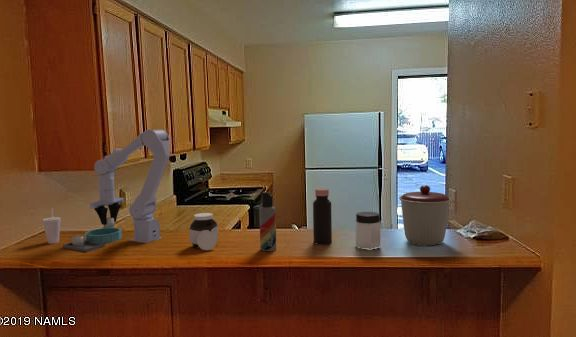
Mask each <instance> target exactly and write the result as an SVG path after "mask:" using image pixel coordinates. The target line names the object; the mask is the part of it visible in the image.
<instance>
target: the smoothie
mask: <svg viewBox="0 0 576 337" xmlns="http://www.w3.org/2000/svg"><path fill="white" fill-rule="evenodd" d="M50 211H51V217H46V218H43V219H42V223H43V228H44V231H45V236H46V241H47V244H57V243H59V242H60V228H61V221H62V218H61V217H60V216H59V217H58V216H54V207H51V209H50Z"/></svg>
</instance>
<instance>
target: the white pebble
mask: <svg viewBox="0 0 576 337" xmlns="http://www.w3.org/2000/svg"><path fill="white" fill-rule="evenodd" d="M84 241H85V235H75V236H72V237H71V243H72V246H75V247H83V246H84Z"/></svg>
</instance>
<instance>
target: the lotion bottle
mask: <svg viewBox="0 0 576 337" xmlns="http://www.w3.org/2000/svg"><path fill="white" fill-rule="evenodd" d="M273 203H274V202H273V193H269V194H261V206H260V207H259V210H258V213H259V214H258V215H259V243H260V244H259V246H260V251H261V250H262V252H265V251H270V252H273V251H274V250H275V251H276V250H277V221H276V220H277V218H276V216H277V215H276V212H277V211H276V207H275V206H274V204H273Z"/></svg>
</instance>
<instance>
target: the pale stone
mask: <svg viewBox="0 0 576 337" xmlns="http://www.w3.org/2000/svg"><path fill="white" fill-rule="evenodd" d="M102 225H103V224H102ZM102 227H103V228H115V222H114V218H113V217H110V216H109V217H107V224H106V225H103V226H102Z"/></svg>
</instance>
